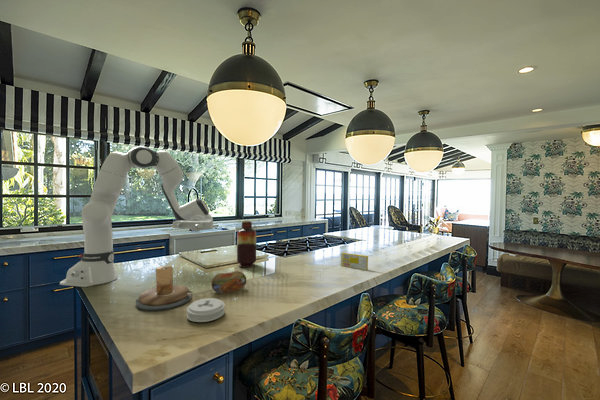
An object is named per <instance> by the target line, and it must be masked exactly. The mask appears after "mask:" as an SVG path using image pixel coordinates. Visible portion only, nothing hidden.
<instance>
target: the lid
mask: <svg viewBox="0 0 600 400" xmlns="http://www.w3.org/2000/svg"><path fill="white" fill-rule="evenodd" d="M225 305H226V304H225V302H224V301H222V300H220V299H219V298H212V297H211V298H210V297H209V298H208V297H207V298H201V299H197V300H195V301H193V302H191V303H190V304H189V305H188V306H187V307H186V311H187V314H186V318H187V319H188V320H189V321H191V322H194V323H195V322H196V323H206V322H210V321H214V320H218V319H220V318H221V317H222V316H224V315H225Z"/></svg>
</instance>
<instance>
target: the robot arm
mask: <svg viewBox="0 0 600 400" xmlns="http://www.w3.org/2000/svg"><path fill="white" fill-rule="evenodd" d="M132 168H137V169H146V168H154V170H156V171H157V173H158V175H159V176H160V177H161V179H162V184H161V190H162V192H163V195H164V197H165V199H166V201H167V203H168V205H169V207H170V209H171V210H172V214H173V216H174V219H175V221H172V228H173V229H191V230H192V231H194V232H200V231H205V230H207V231H208V230H213V229H214V218H213V217H212V215H211V214H210V212H209V211H210V210H209V206H208V204H207V203H206V202H205V201H204V200H202V199H200V198H195V199H192V200H191V201H189V202H186V203H185V204H182V205H180V203H179V202H178V201H179V200H177V197H176V194H175V189H176V188H177V187H178V186H179V185H180V183H182V181H183V178H184V172H183V170H182V168H181V166H180V165H179V163H178V162H177V160H175V158H174V157H173V156H172V154H170V153H169V152H168V151H167V150H158V151H155V150H153V149H151V148H149V147H147V146H142V145H141V146H140V145H138V146H135V147H132V148H131V149H129V150H128V151H126V152H125V153H123V152H119V151H112V152H110V153H109V154H108V155H107V157H106V158H105V160H104V161H103V163H102V165H101V168H100V170H99V172H98V174H97V176H96V179H95V182H94V185H93V188H92V192H91V194H90V197H89V201H88V202H87V203H86V204H85V205H84V206H83V207H82V209H81V222H82V230H83V239H84V252H83V253H82V254H78V258H81V259H80V261H78V262H77V263H76V264H74V265H72V267H69V269H68V270H67V272H66V277H65V279H63V280H61V281H59V285H60V286H69V287H79V288H87V287H92V286H97V285H102V284H107V283H109V282H113V281H115V280H116V279H118V276H117V274H116V270H115V269H116V268H115V264H114V263H115V262H114V259H115V251H114V247H113V244H114V242H113V236H114V235H113V228H112V227H113V226H112V216H113V214H114V212H115V208H116V205H117V203H118V200H119V198H120V195H121V192H122V189H123V187H124V185H125V182H126V179H127V177H128V173H129V172H130V170H131V169H132Z"/></svg>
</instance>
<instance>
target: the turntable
mask: <svg viewBox="0 0 600 400" xmlns="http://www.w3.org/2000/svg"><path fill="white" fill-rule="evenodd" d="M189 290H190V289H189V288H188V287H187V286H185V285H177V284H173V293H171V294H169V295H164V296H159V295H157V294H156V287H152V288H150V289H147V290H145V291H143V292H141V293H140V294H139V297H138V298H139V302H140V303H141V304H143V305H149V306H160V305H167V304H172V303H175V302H178V301H181V300H183V299H185V298H186V297H187V296H191V295H192V292H191V293H189Z"/></svg>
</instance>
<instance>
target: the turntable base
mask: <svg viewBox="0 0 600 400" xmlns="http://www.w3.org/2000/svg"><path fill="white" fill-rule="evenodd" d="M189 293H192V291H191V290H190V289H189ZM192 297H193V296H192V295H191V296H187V297H186V298H185V299H183V300H181V301H178V302H175V303H172V304H167V305H160V306H149V305H143V304H141V303H140V302H139V297H137V298H136V299H135V306H136V308H137V309H138V310H139V311H140V310H141V311H143V312H144V311H145V312H160V311H167V310H172V309H175V308H179V307H181V306H184V305H185V304H187V303H189V302H190V301H191V300H192Z"/></svg>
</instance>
